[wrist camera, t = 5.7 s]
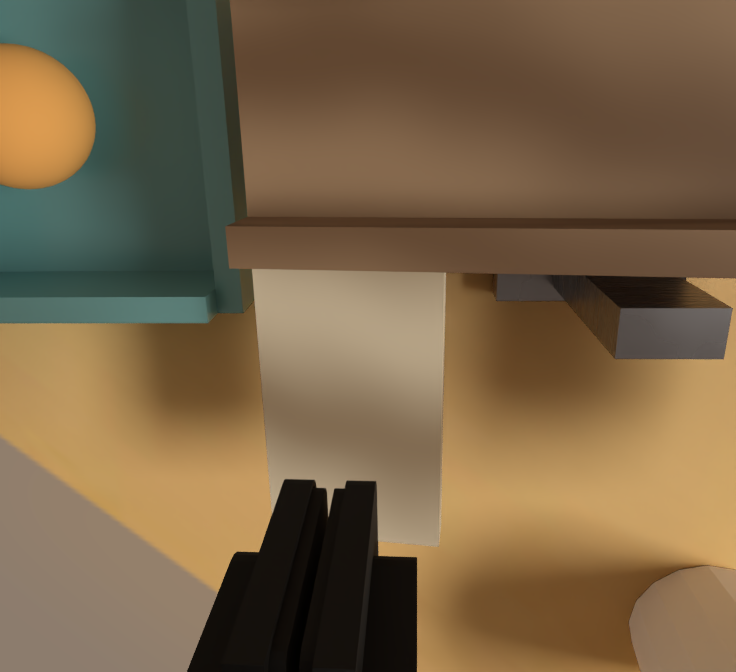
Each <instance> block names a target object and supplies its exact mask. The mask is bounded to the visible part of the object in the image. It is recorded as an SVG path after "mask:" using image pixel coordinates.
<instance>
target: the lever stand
mask: <svg viewBox="0 0 736 672" xmlns="http://www.w3.org/2000/svg"><path fill="white" fill-rule="evenodd" d="M493 295H494V297H495V299H496V301H566V302H567V303H568V305H569V306H570V307H571V308H572V309H573V310H574V312H575V313H576V314H577V315H578V316H579V317H580V319H581V320H582V321H583V322H584V323H585V324H586V326H587V327H588V328H589V329H590V330H591V331H592V333H593V334H594V335H595V336H596V337H597V338H598V340H599V341H600V342H601V343H602V344H603V345H604V347H605V348H606V349H607V350H608V351H609V352H610V354H611V355H612V356H613V357H614V358H615V359H724V354H725V349H726V343H727V337H728V332H729V326H730V320H731V314H732V309H733V308H731V307H730V306H728V305H726V304H725V303H723V302H721V301H720V300H718V299H716V298H714V297H713V296H711V295H709V294H708V293H706V292H704V291H703V290H701V289H699V288H697V287H696V286H694V285H692V284H691V283H689V282H687V281H686V277H643V276H592V275H540V274H493Z"/></svg>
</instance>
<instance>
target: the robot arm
mask: <svg viewBox="0 0 736 672" xmlns="http://www.w3.org/2000/svg"><path fill="white" fill-rule="evenodd" d="M187 672H417V557H388V556H378V515H377V483H376V481H350V480H347V481H346V484H345V488H335V489H334V492H333V497H332V502H331V507H330V512H329V516H328V501H327V490H326V488H317V487H316V481H315V480H306V479H285V480H284V482H283V484H282V487H281V490H280V493H279V496H278V499H277V502H276V504H275V507H274V510H273V513H272V516H271V519H270V522H269V525H268V528H267V531H266V534H265V537H264V540H263V543H262V546H261V548H260V551H259V552H236V553H235V554H234V556H233V558H232V559H231V562H230V564H229V567H228V569H227V572H226V574H225V577H224V579H223V582H222V584H221V587H220V589H219V592H218V594H217V597H216V600H215V602H214V605H213V607H212V610H211V612H210V615H209V617H208V620H207V622H206V625H205V628H204V630H203V633H202V635H201V637H200V640H199V643H198V645H197V648H196V650H195V653H194V655H193V658H192V660H191V663H190V665H189V668H188V670H187Z"/></svg>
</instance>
